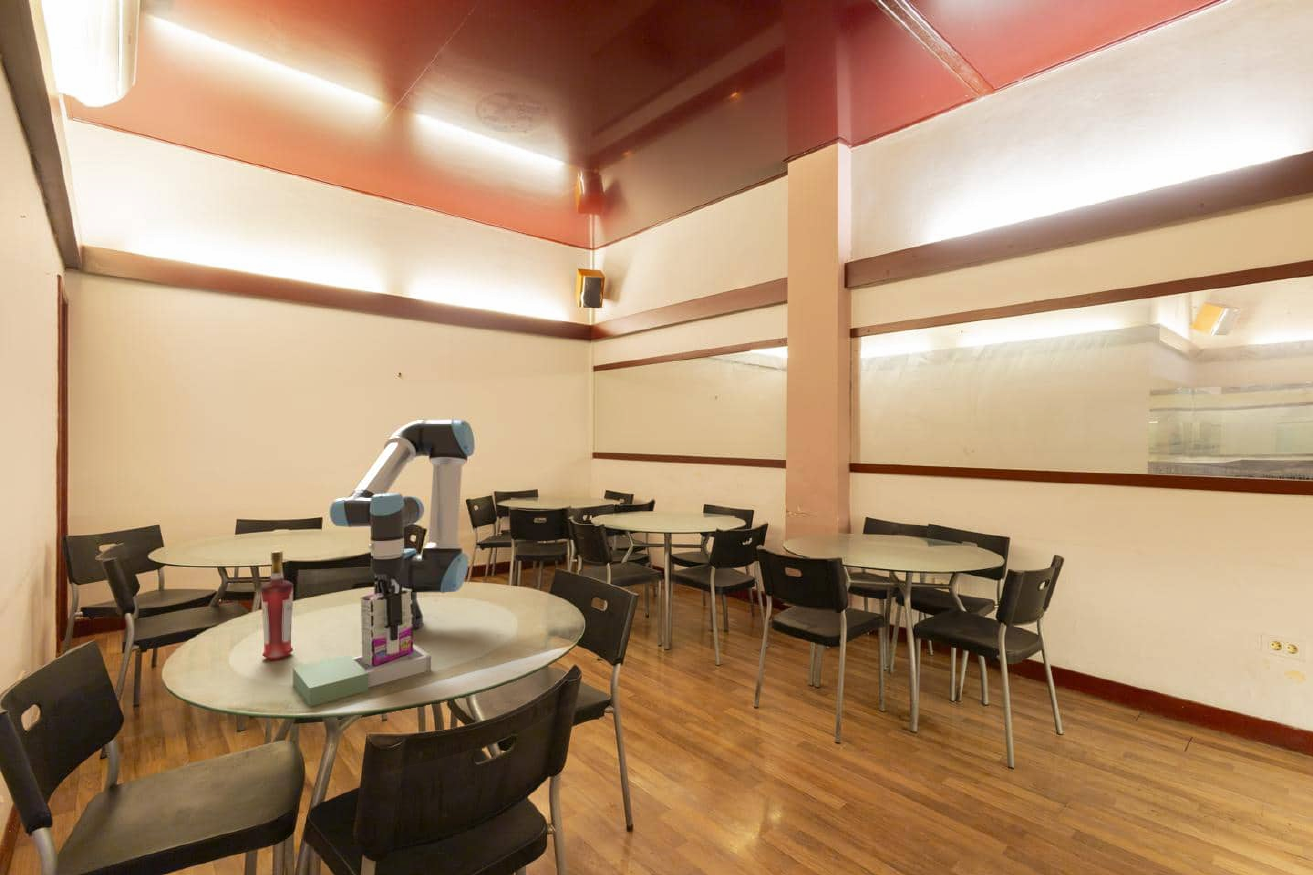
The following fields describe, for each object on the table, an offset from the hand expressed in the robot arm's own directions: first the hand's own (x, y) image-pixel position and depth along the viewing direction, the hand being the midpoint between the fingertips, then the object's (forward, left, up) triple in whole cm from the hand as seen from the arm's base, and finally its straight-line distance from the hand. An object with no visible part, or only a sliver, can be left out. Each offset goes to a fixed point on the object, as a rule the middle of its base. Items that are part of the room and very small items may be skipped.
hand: (388, 648), depth 147 cm
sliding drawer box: (0, -5, -6) cm, 8 cm away
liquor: (-31, -18, -6) cm, 36 cm away
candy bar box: (0, 0, -3) cm, 3 cm away
